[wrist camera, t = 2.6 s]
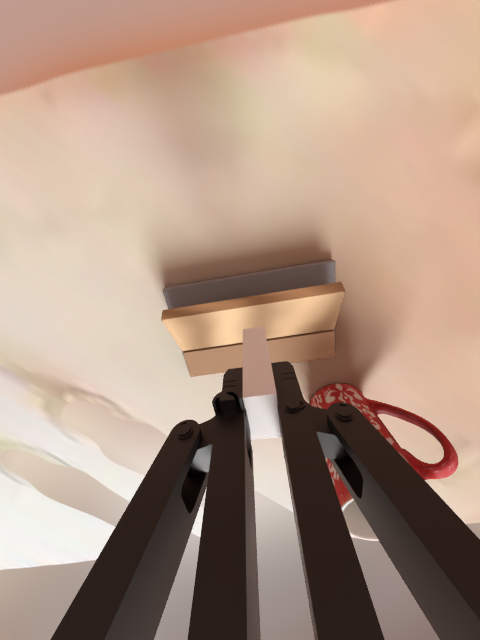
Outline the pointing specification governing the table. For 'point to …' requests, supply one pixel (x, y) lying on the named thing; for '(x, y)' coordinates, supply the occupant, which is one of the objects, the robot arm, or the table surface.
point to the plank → (255, 316)
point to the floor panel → (252, 285)
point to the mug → (370, 410)
